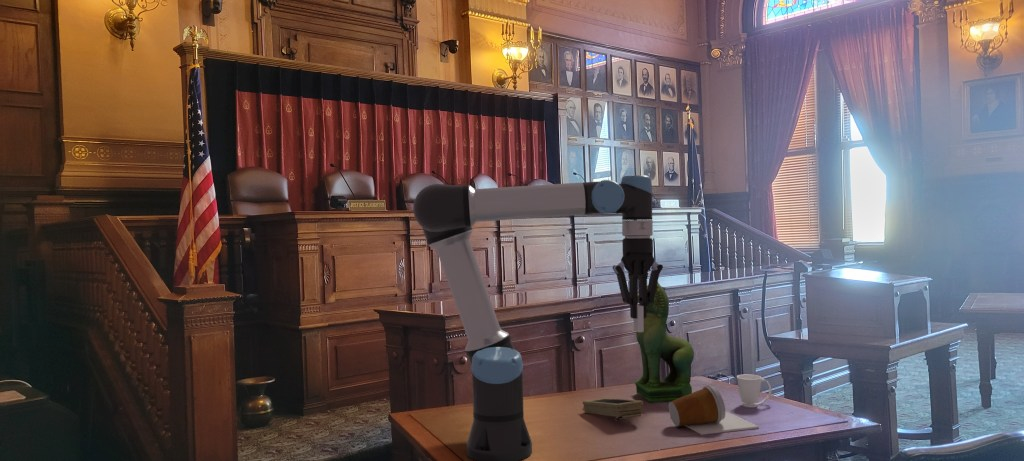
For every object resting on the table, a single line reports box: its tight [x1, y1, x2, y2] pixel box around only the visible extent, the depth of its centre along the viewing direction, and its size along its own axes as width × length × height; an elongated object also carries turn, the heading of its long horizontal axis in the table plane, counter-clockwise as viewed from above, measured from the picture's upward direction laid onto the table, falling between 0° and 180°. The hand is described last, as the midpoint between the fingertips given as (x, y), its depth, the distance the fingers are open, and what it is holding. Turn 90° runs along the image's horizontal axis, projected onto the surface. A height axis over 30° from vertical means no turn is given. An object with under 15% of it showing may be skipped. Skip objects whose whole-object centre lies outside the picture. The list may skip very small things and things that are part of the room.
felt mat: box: [684, 410, 759, 436], centre depth 186 cm, size 16×16×1 cm
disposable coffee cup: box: [668, 385, 726, 427], centre depth 183 cm, size 10×10×12 cm
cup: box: [736, 373, 773, 408], centre depth 202 cm, size 7×10×8 cm
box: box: [582, 397, 644, 421], centre depth 194 cm, size 8×22×5 cm, turn 25°
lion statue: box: [634, 282, 695, 404], centre depth 214 cm, size 14×17×35 cm
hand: (638, 331), depth 180 cm, fingers closed
